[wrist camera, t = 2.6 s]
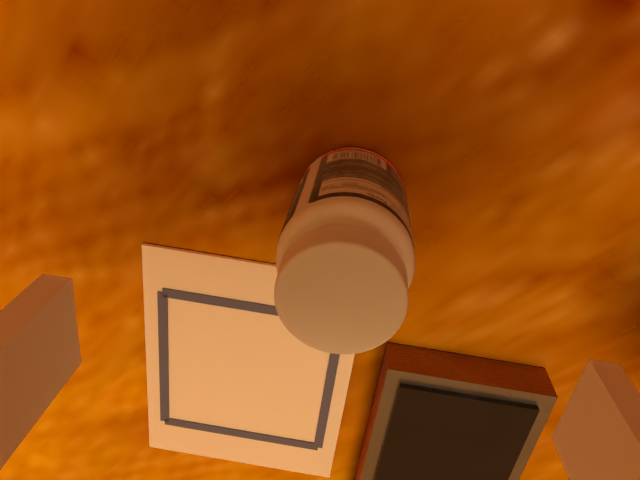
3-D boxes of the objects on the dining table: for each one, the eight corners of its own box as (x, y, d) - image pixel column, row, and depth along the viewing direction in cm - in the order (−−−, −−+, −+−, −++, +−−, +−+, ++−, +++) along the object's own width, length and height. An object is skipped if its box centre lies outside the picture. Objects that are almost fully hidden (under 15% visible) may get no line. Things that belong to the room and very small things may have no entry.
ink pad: (387, 342, 26) (388, 373, 24) (545, 368, 26) (559, 402, 24) (352, 484, 31) (351, 520, 29) (484, 507, 31) (492, 544, 29)
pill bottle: (344, 262, 24) (330, 390, 17) (276, 189, 23) (228, 292, 15) (428, 204, 22) (454, 318, 15) (359, 121, 21) (351, 200, 13)
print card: (143, 242, 24) (140, 245, 24) (369, 279, 24) (369, 282, 24) (151, 443, 31) (149, 448, 31) (329, 474, 31) (329, 479, 30)
